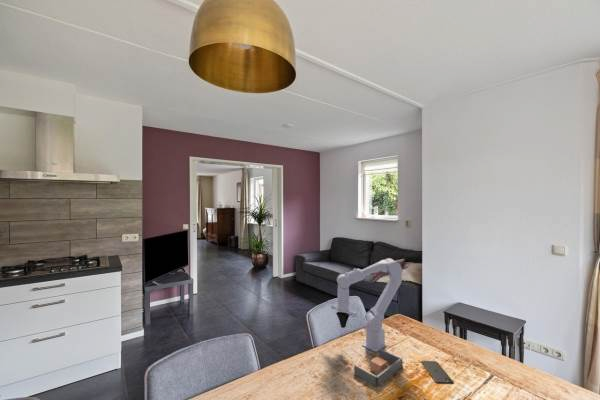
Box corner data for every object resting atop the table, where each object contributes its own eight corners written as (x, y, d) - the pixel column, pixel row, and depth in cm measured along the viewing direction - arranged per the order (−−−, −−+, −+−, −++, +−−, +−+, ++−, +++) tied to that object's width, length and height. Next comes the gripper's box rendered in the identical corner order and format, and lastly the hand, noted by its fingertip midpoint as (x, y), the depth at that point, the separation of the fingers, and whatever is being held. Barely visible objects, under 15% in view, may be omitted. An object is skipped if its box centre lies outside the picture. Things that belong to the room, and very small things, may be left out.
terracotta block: (376, 365, 117) (376, 356, 117) (387, 371, 113) (387, 361, 114) (370, 370, 114) (370, 360, 114) (380, 375, 110) (380, 366, 110)
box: (380, 356, 124) (380, 348, 124) (402, 366, 116) (402, 358, 116) (354, 373, 111) (354, 365, 111) (377, 387, 103) (377, 377, 103)
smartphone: (436, 360, 120) (455, 382, 105) (436, 362, 120) (455, 384, 105) (420, 360, 120) (435, 382, 105) (420, 362, 120) (435, 384, 105)
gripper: (327, 297, 136) (327, 324, 136) (349, 305, 126) (350, 334, 125) (336, 294, 141) (336, 320, 141) (359, 301, 130) (359, 330, 130)
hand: (343, 326), depth 133 cm, fingers closed
